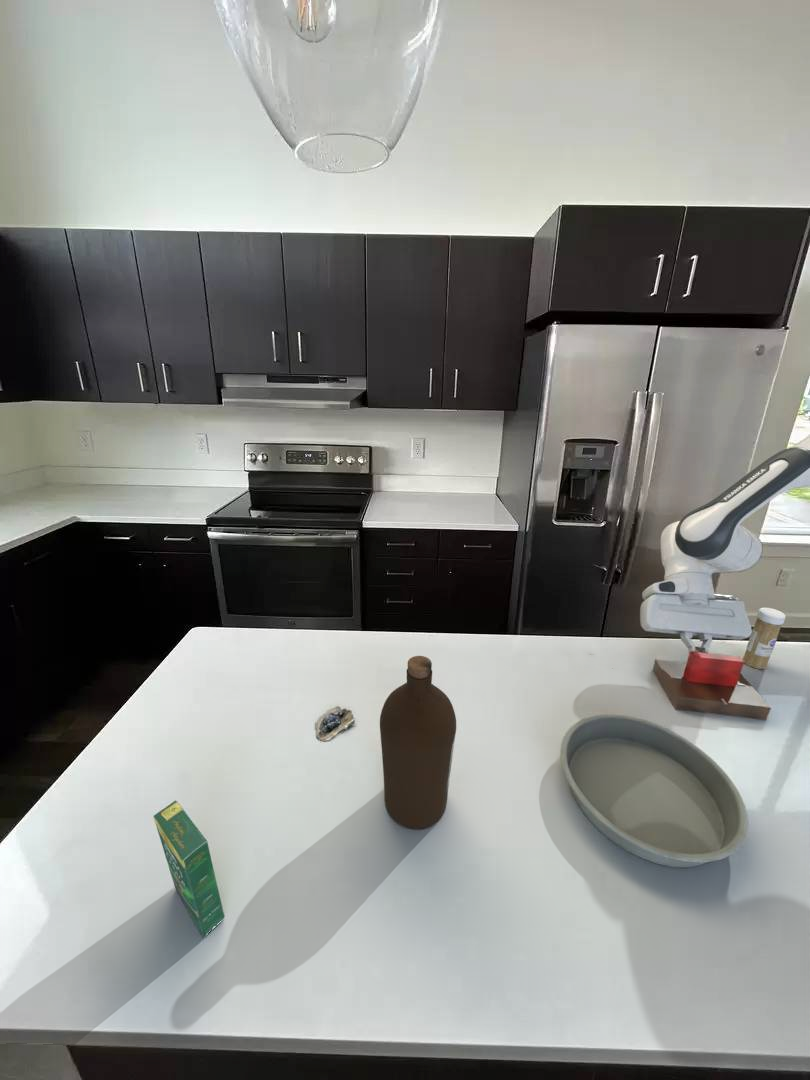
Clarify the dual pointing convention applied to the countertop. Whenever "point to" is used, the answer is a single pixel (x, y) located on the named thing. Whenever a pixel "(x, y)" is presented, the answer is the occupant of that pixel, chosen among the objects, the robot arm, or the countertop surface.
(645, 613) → the robot arm
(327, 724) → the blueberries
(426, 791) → the olive oil
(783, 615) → the sprinkles bottle
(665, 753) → the cake pan
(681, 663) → the base
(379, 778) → the countertop surface
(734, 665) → the red block
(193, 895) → the coffee box
